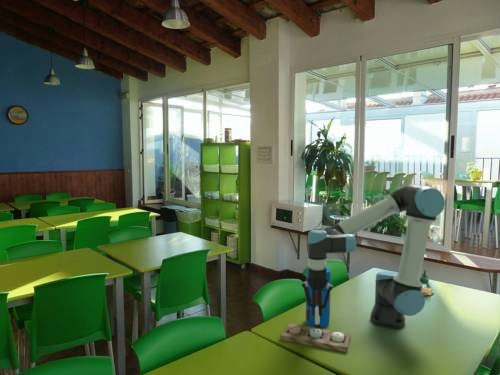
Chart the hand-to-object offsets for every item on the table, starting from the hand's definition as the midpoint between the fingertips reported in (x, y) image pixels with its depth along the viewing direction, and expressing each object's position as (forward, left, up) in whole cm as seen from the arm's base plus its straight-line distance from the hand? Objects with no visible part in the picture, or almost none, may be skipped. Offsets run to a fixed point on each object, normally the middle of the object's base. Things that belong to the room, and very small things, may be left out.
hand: (317, 322), depth 155 cm
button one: (-8, 0, -7) cm, 11 cm away
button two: (+1, 0, -7) cm, 7 cm away
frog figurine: (-47, -75, -7) cm, 88 cm away
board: (+1, 0, -7) cm, 7 cm away
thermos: (+3, -15, -7) cm, 17 cm away
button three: (+10, 0, -7) cm, 12 cm away
